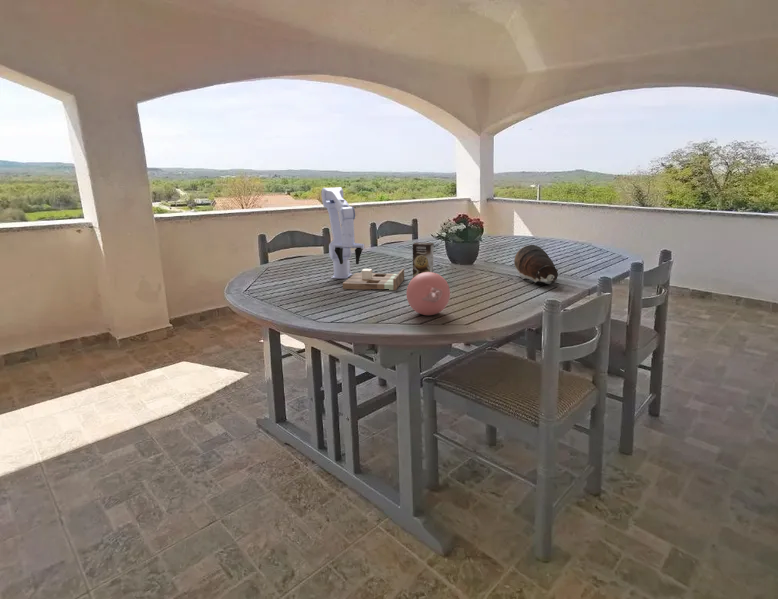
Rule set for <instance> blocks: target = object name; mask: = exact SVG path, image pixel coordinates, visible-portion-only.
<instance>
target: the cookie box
mask: <svg viewBox="0 0 778 599" xmlns="http://www.w3.org/2000/svg"><path fill="white" fill-rule="evenodd" d="M434 244H435V243H434V242H418V241H417V242H414V243H412V278H414V277H415V276H416V275H418V274H420V273H423V272H433V273H434Z"/></svg>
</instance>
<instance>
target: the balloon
mask: <svg viewBox="0 0 778 599" xmlns="http://www.w3.org/2000/svg"><path fill="white" fill-rule="evenodd" d="M450 289H451V288H450V285H449V284H448V282H447V280H446V279H445V278H444V277H443V276H441V275H440V274H438V273H436V272H434V271H433V272H423V273H420V274H418V275H416V276H415V277H412V278H411V279H410V281H409V283H408V285H407V287H406V291H405V292H406V299H407V303H408V305H409V306H410V308H412V310H414V311H415V312H416V313H417V314H420V315H422V316H434V315H437V314H439V313H441V312H442V311H443V310H444V309H445V308H446V307H447V306H448V303H449V302H450V298H451V290H450Z"/></svg>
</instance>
